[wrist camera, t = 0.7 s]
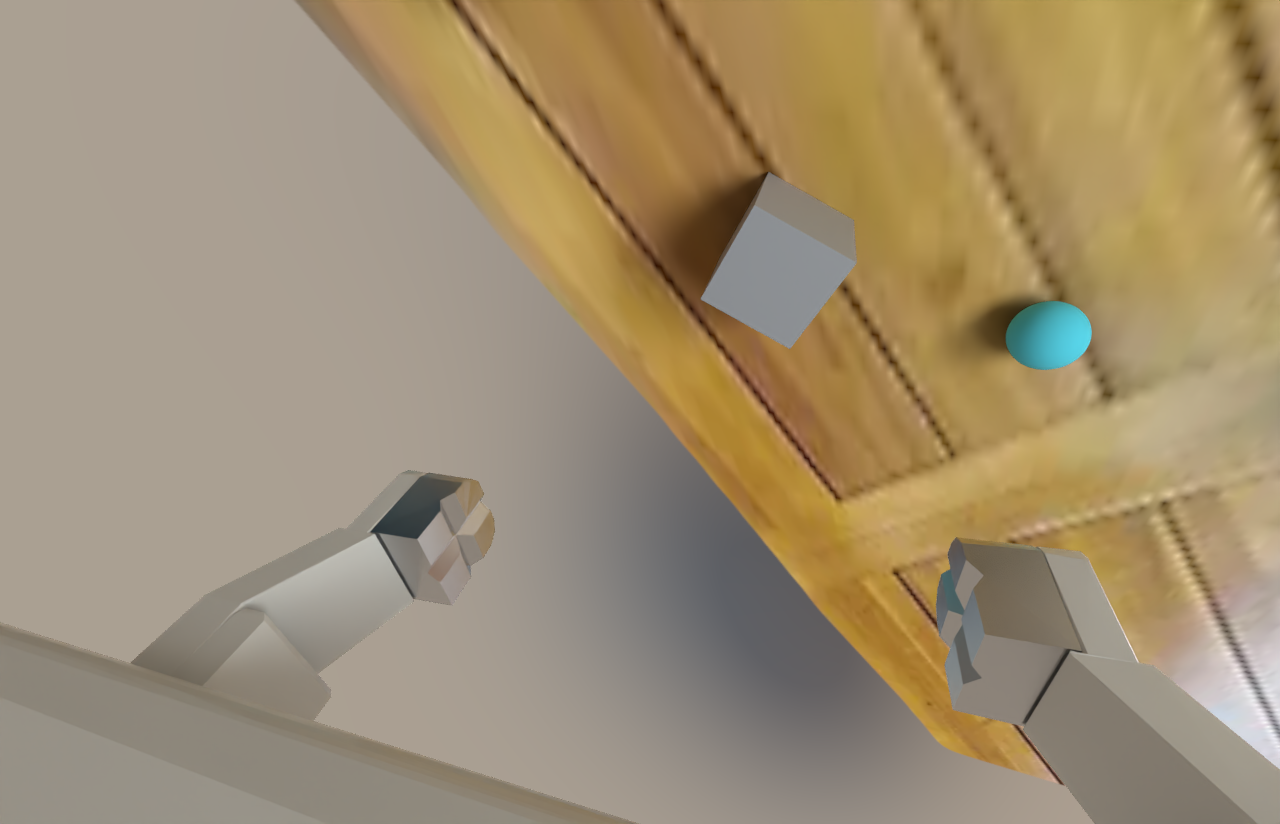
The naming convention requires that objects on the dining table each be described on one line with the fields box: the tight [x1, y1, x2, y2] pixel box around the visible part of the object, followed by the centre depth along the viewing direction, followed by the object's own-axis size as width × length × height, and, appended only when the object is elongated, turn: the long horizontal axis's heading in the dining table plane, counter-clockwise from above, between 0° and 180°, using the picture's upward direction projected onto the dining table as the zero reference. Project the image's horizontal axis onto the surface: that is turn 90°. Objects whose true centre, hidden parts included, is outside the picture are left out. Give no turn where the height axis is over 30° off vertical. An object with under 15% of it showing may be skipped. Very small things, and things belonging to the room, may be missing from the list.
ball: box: [1006, 301, 1092, 370], centre depth 39 cm, size 5×5×5 cm
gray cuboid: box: [701, 172, 857, 349], centre depth 39 cm, size 8×8×9 cm
